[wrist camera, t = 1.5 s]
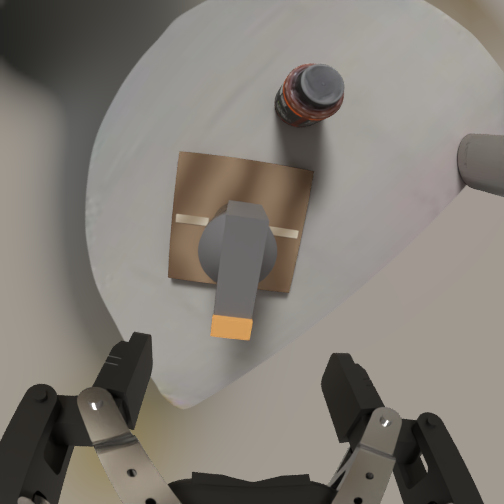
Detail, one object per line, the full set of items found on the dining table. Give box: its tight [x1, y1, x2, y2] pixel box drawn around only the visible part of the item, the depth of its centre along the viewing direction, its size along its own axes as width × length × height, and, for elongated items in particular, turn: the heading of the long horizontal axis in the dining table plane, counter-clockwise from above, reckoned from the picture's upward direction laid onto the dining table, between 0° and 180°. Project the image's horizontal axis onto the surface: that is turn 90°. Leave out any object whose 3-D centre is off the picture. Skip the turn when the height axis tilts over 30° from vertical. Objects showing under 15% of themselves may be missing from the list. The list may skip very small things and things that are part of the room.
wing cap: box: [198, 200, 277, 340], centre depth 23 cm, size 9×7×8 cm
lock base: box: [168, 152, 314, 293], centre depth 32 cm, size 16×16×9 cm
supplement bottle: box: [275, 63, 344, 127], centre depth 26 cm, size 6×6×11 cm
